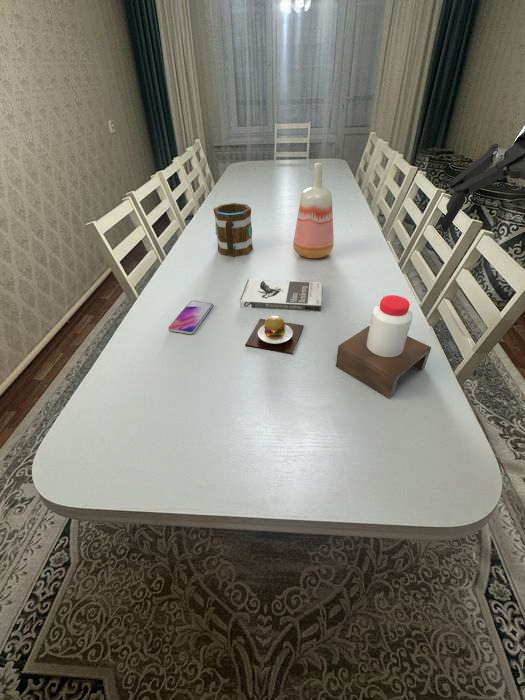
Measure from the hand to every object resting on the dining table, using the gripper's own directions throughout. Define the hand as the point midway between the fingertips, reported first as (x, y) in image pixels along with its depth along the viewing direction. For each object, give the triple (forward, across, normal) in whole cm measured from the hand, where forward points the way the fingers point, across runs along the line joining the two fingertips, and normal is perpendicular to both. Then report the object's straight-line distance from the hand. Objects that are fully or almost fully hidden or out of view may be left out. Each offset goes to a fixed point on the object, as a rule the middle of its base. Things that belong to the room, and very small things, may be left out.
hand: (480, 236), depth 63 cm
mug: (+17, +82, -26) cm, 87 cm away
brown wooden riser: (+28, +8, -14) cm, 32 cm away
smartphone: (+42, +55, 0) cm, 69 cm away
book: (+24, +46, -18) cm, 55 cm away
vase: (+2, +61, -40) cm, 73 cm away
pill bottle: (+24, +8, -10) cm, 27 cm away
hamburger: (+34, +33, -8) cm, 48 cm away
